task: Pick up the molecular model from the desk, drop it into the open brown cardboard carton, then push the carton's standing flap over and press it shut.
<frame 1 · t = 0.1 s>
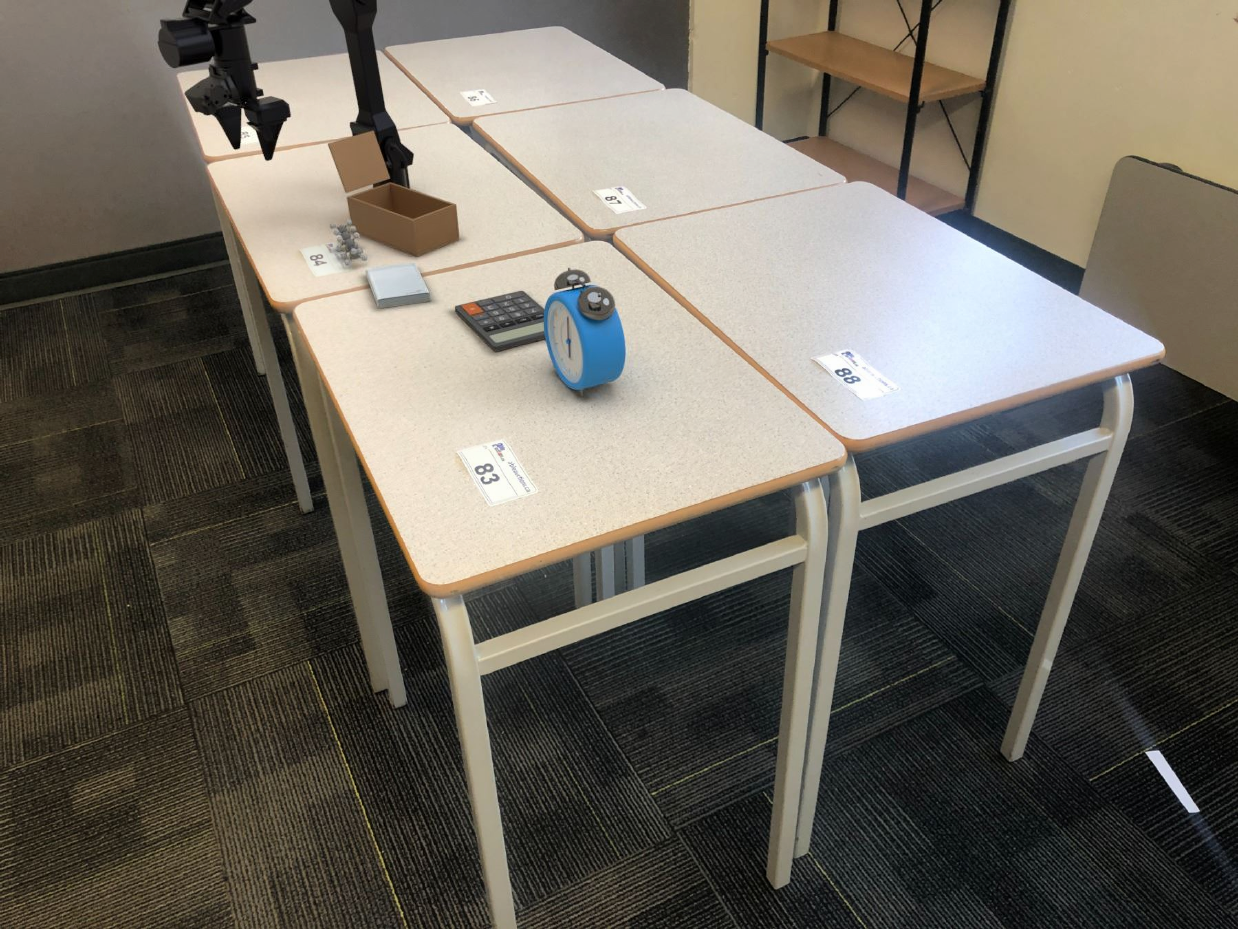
hand: (252, 154, 161), 15 cm above the table, tool pointing down, fingers open, 9 cm apart
carton flap: (359, 161, 169), point 11 cm above the table, hinge at 110.0°
hard drive: (398, 289, 153), on the table
molecular model: (350, 256, 163), on the table
carton: (405, 235, 171), on the table
calculator: (509, 322, 144), on the table
alarm clock: (584, 382, 130), on the table
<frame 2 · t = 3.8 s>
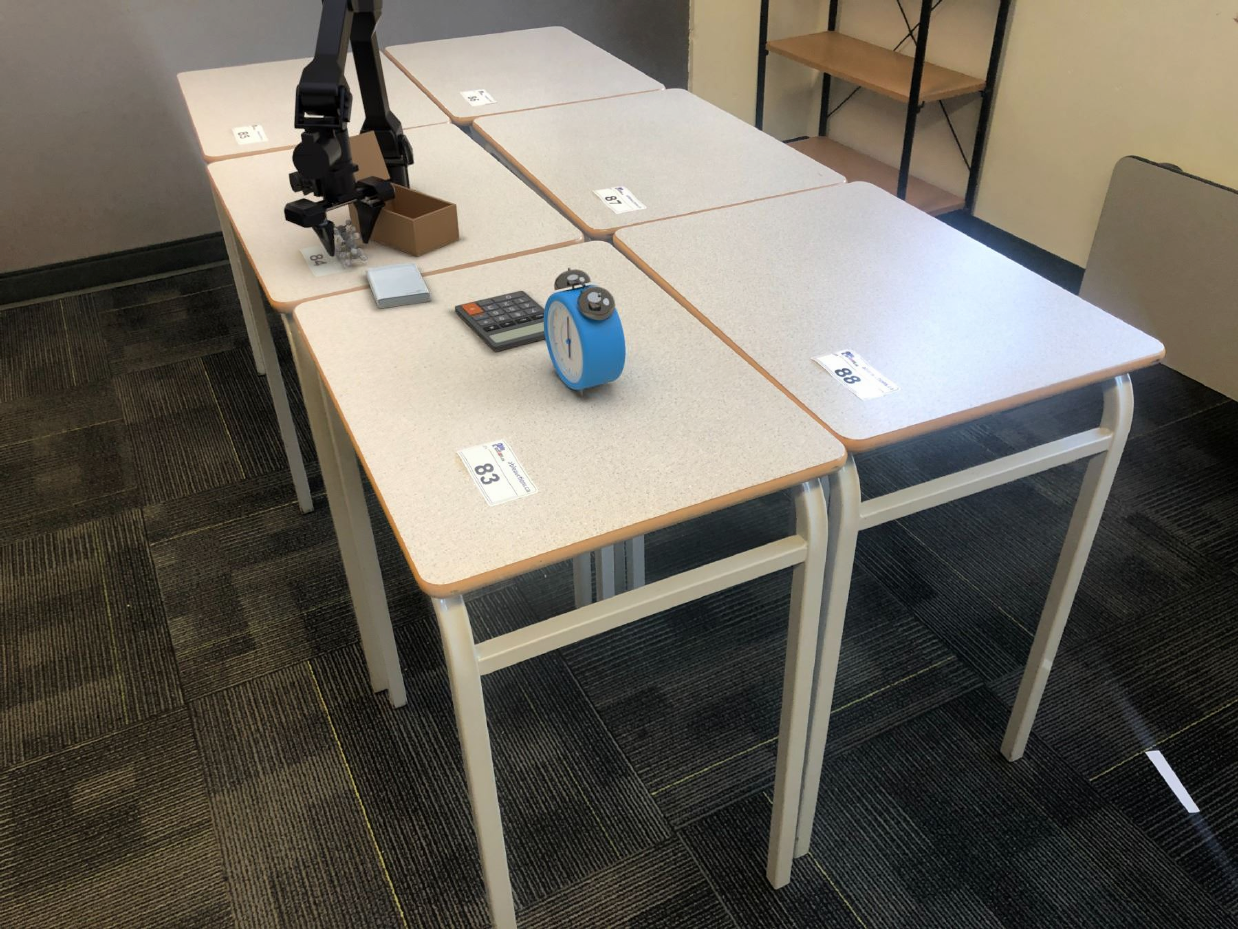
hand: (349, 249, 163), 1 cm above the table, tool pointing down, fingers open, 7 cm apart
nothing on the table moved.
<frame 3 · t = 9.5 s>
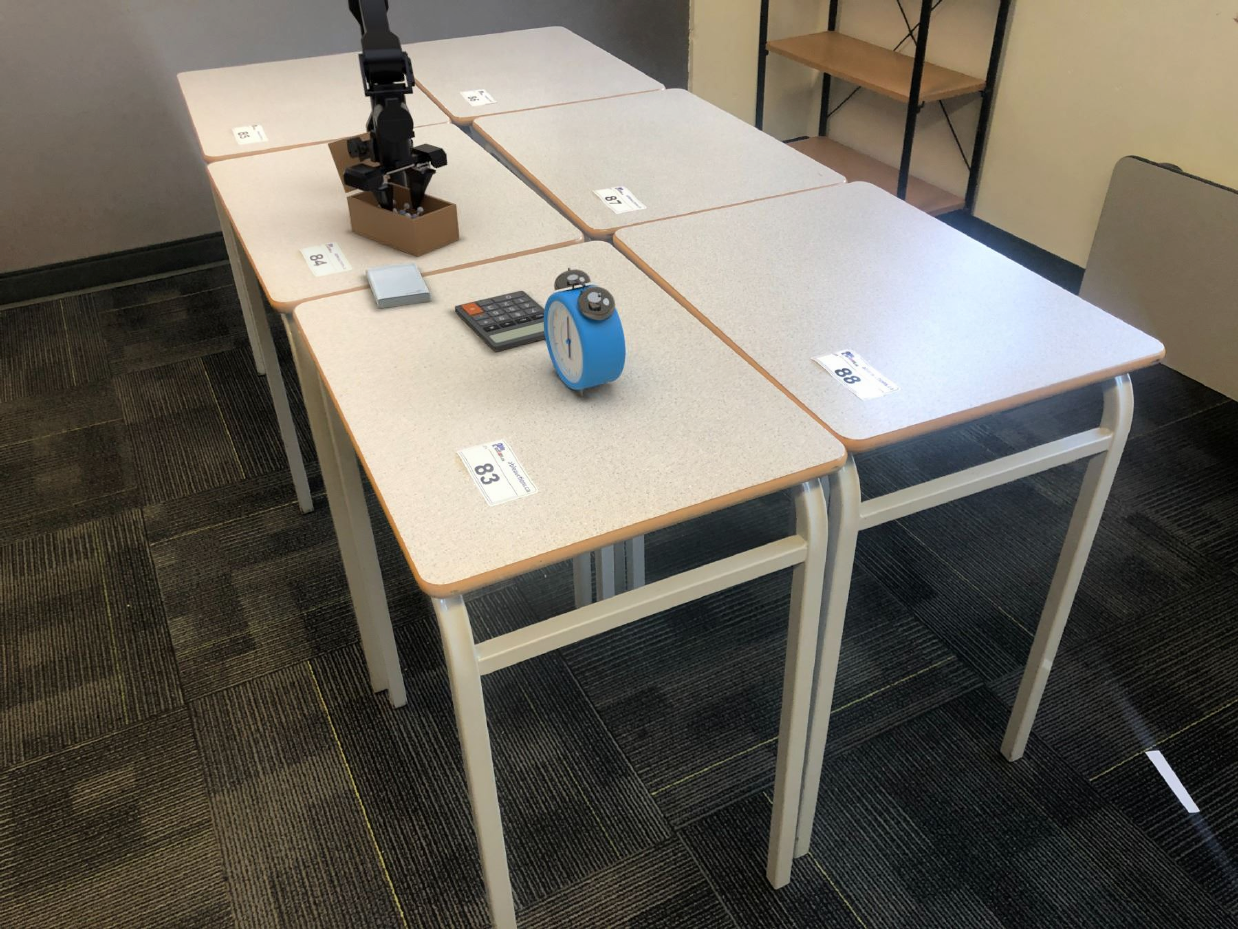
hand: (402, 214, 169), 4 cm above the table, tool pointing down, fingers open, 6 cm apart
molecular model: (407, 233, 171), resting on carton
everything else where it was.
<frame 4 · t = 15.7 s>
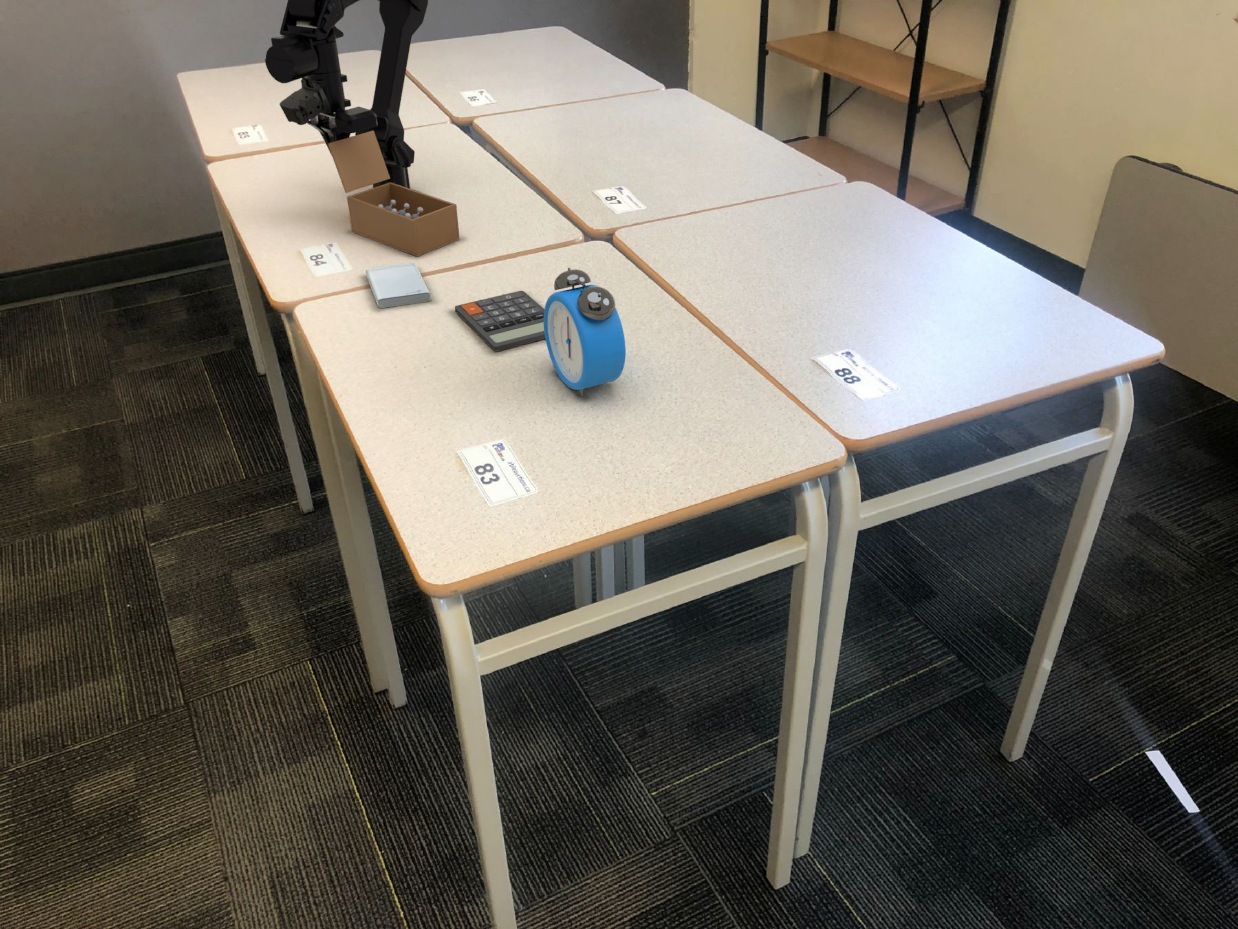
hand: (338, 161, 171), 11 cm above the table, tool pointing down, fingers closed
carton flap: (359, 161, 169), point 11 cm above the table, hinge at 109.8°, touching gripper
everything else where it was.
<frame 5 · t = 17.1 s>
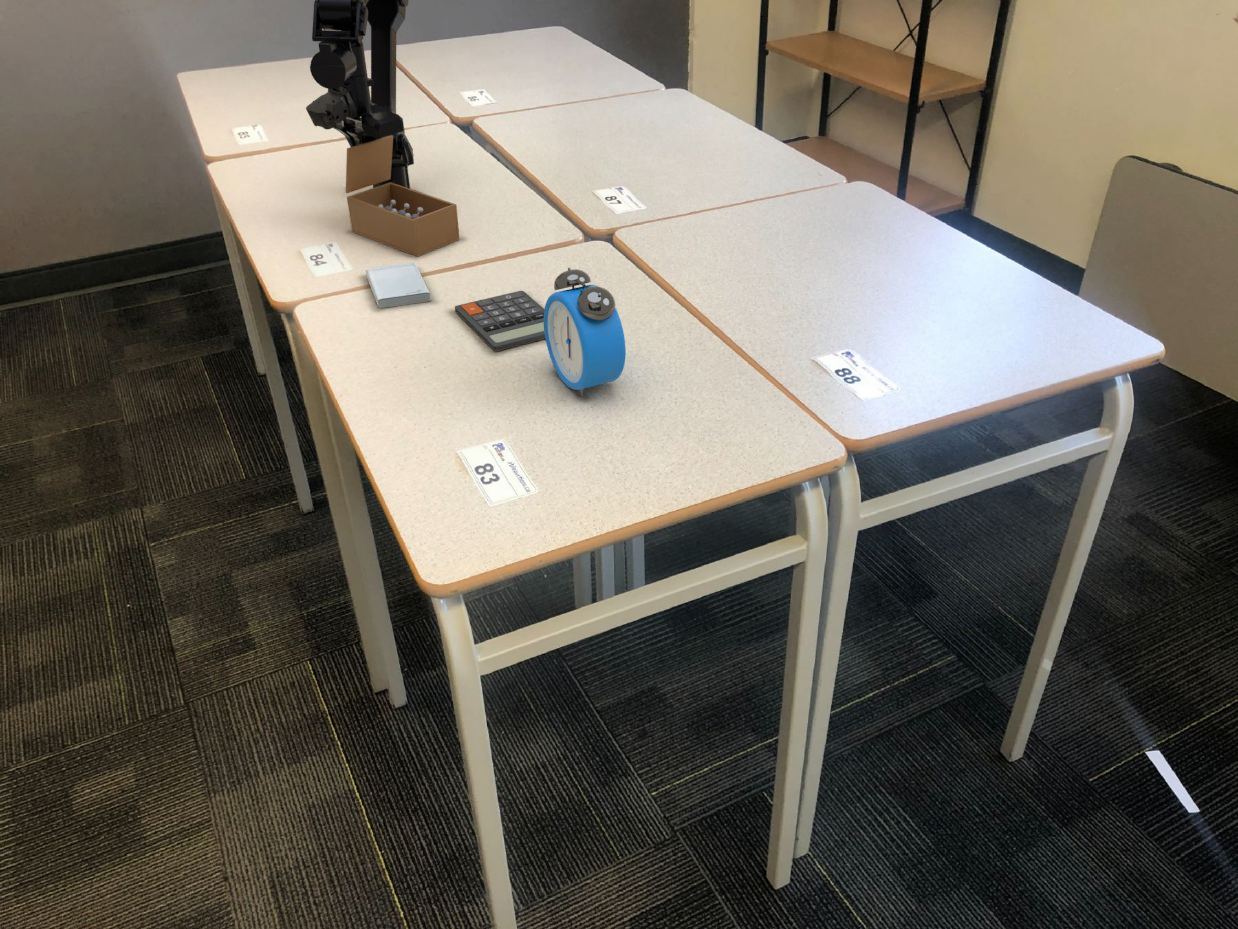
hand: (363, 165, 169), 11 cm above the table, tool pointing down, fingers closed
carton flap: (369, 164, 168), point 11 cm above the table, hinge at 73.8°, touching gripper
everything else where it was.
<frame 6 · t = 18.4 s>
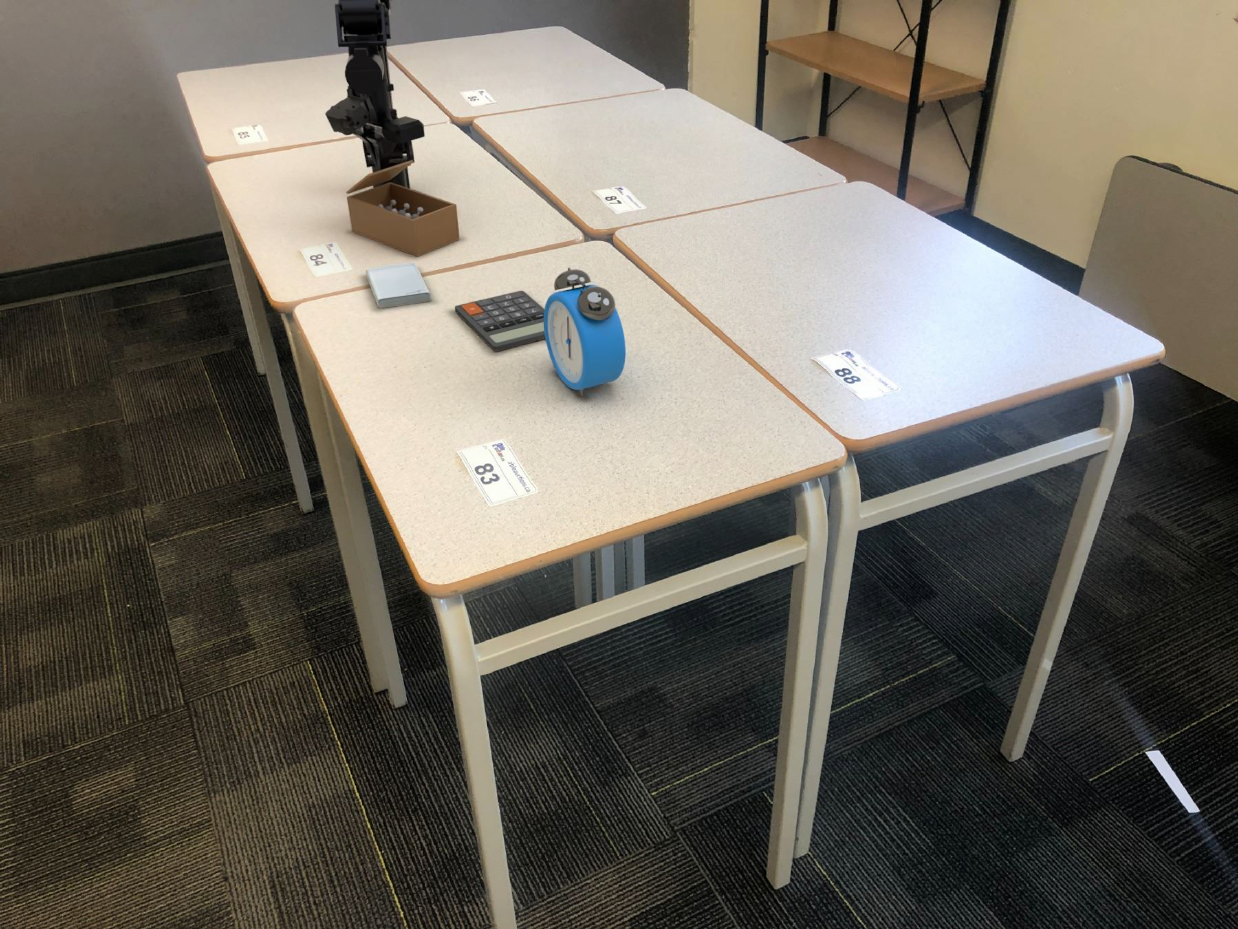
hand: (382, 171, 167), 11 cm above the table, tool pointing down, fingers closed
carton flap: (379, 176, 168), point 10 cm above the table, hinge at 33.7°, touching gripper
everything else where it was.
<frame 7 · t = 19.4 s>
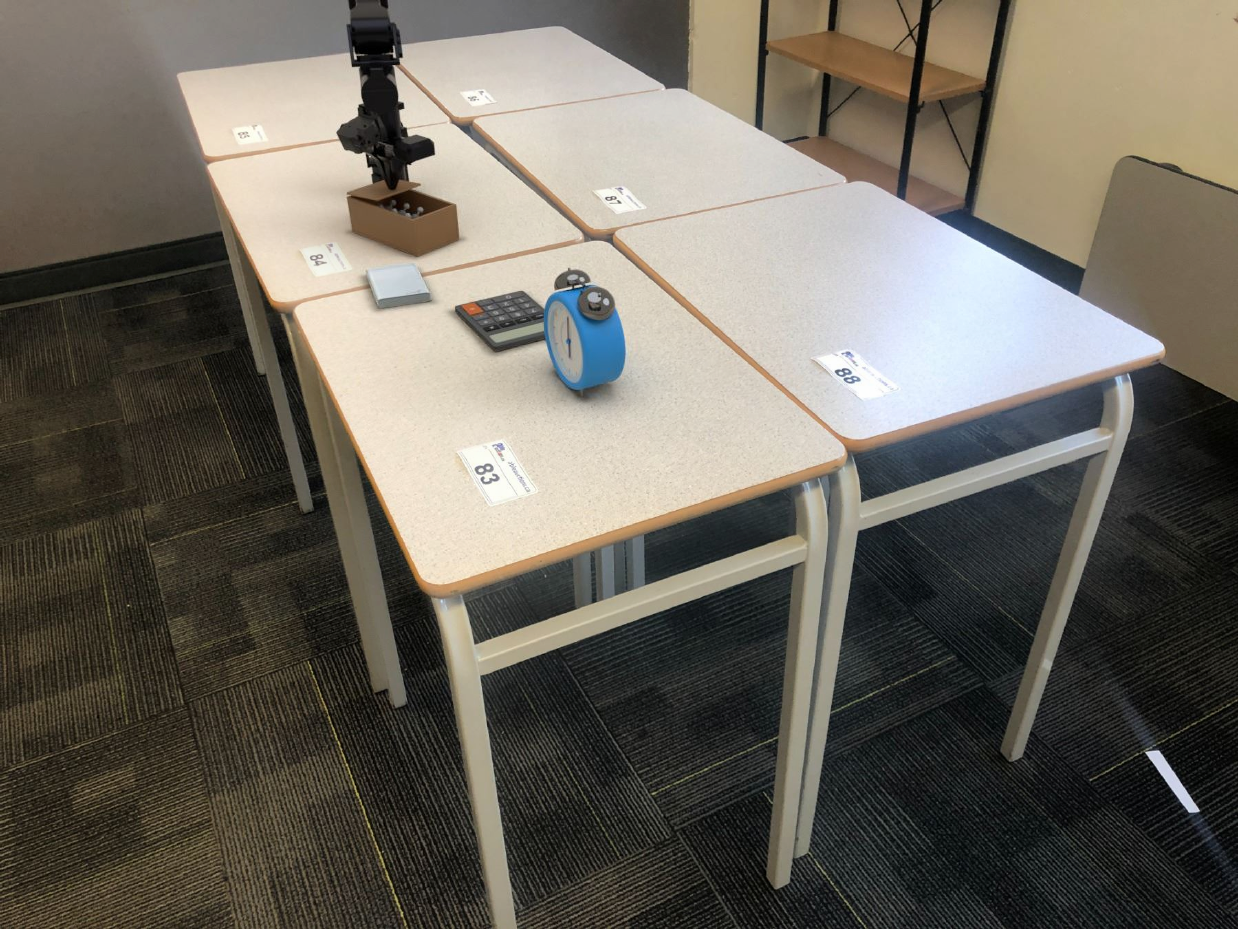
hand: (392, 189, 167), 8 cm above the table, tool pointing down, fingers closed, pressing on carton flap
carton flap: (383, 188, 169), point 8 cm above the table, hinge at 5.9°, touching gripper
everything else where it was.
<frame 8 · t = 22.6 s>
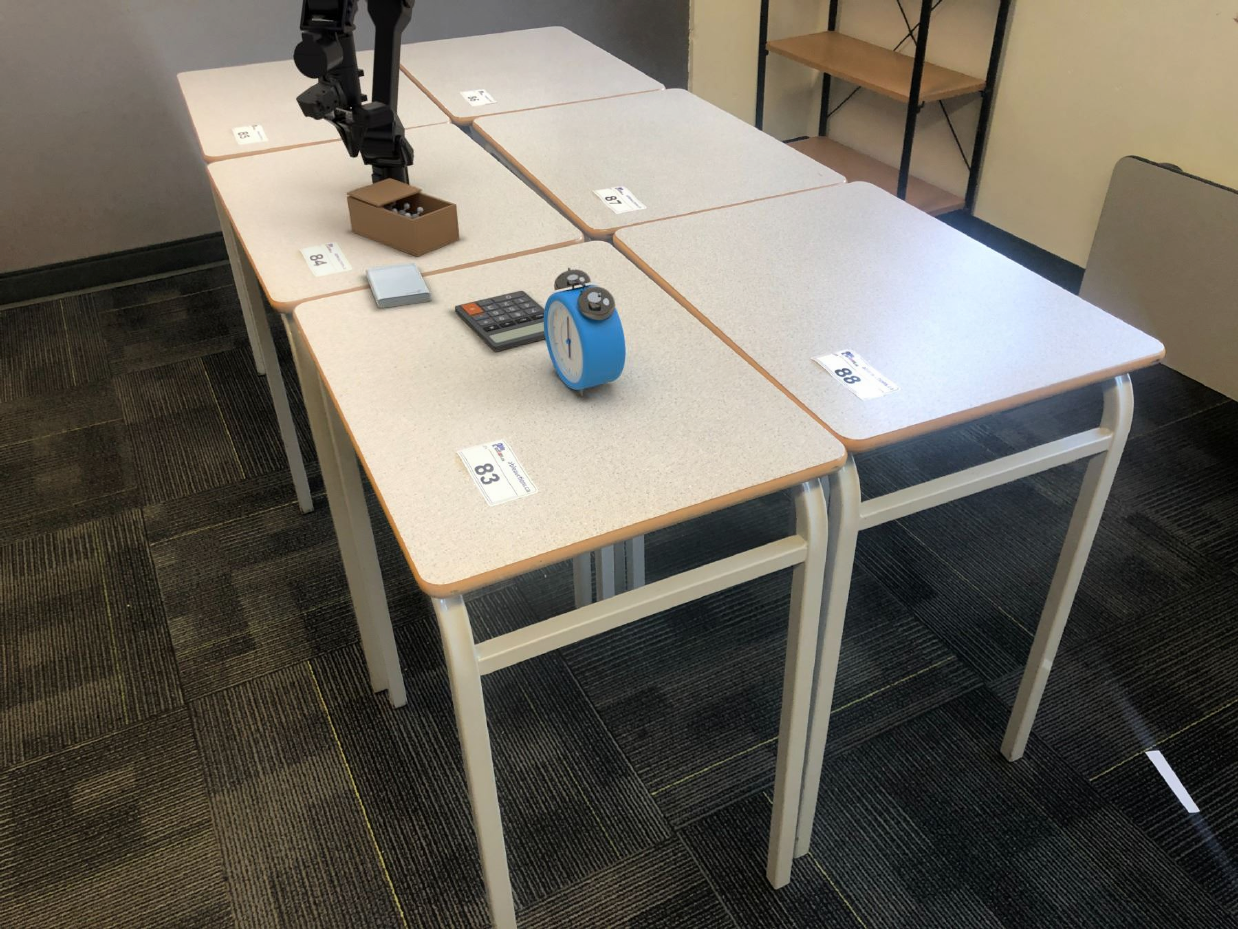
hand: (354, 156, 169), 12 cm above the table, tool pointing down, fingers closed
carton flap: (384, 191, 169), point 7 cm above the table, hinge at -1.0°
everything else where it was.
at the end: molecular model inside the target area in the carton (0.5 cm from its centre), point 0.3 cm above the carton's base; carton flap at -1° (first picture: +110°) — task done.
